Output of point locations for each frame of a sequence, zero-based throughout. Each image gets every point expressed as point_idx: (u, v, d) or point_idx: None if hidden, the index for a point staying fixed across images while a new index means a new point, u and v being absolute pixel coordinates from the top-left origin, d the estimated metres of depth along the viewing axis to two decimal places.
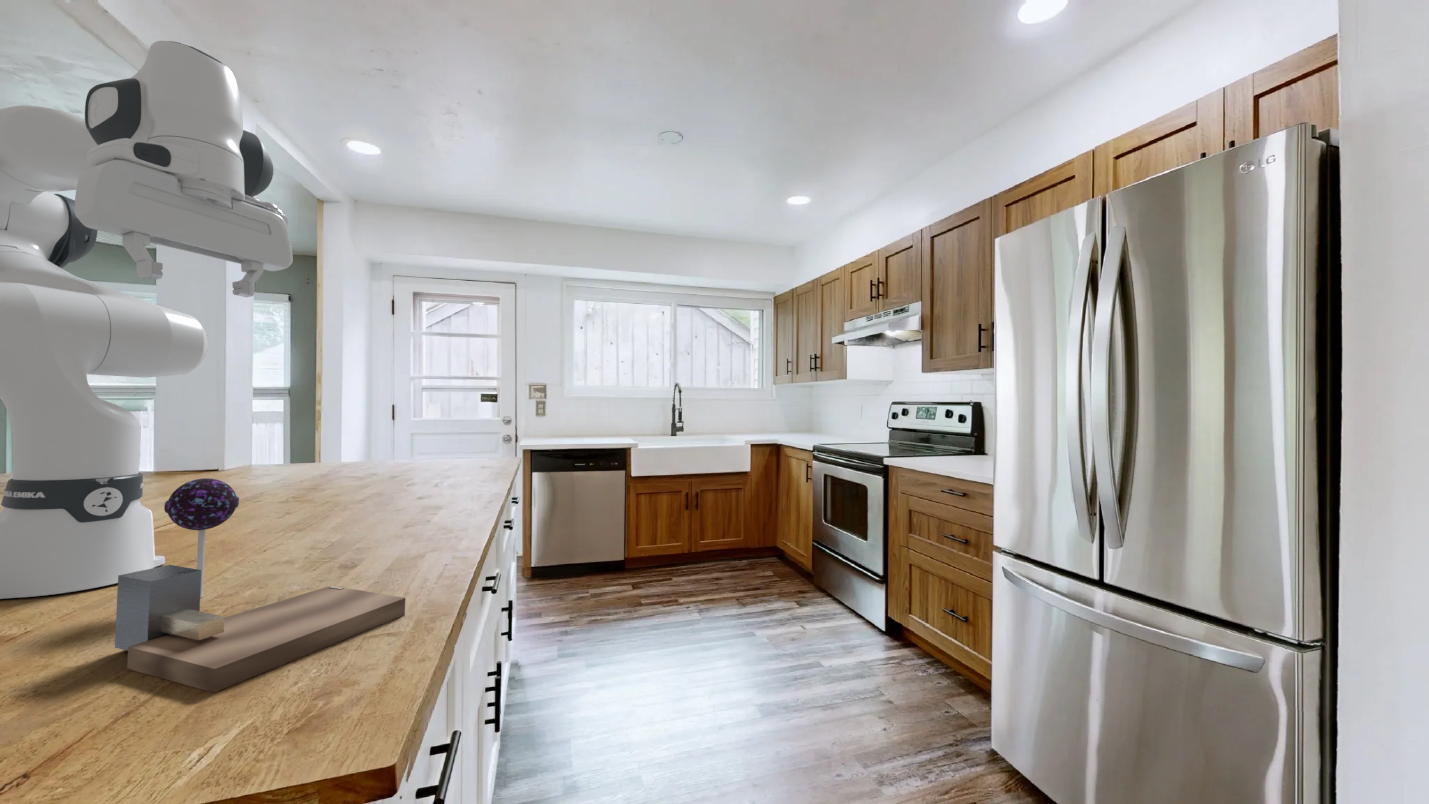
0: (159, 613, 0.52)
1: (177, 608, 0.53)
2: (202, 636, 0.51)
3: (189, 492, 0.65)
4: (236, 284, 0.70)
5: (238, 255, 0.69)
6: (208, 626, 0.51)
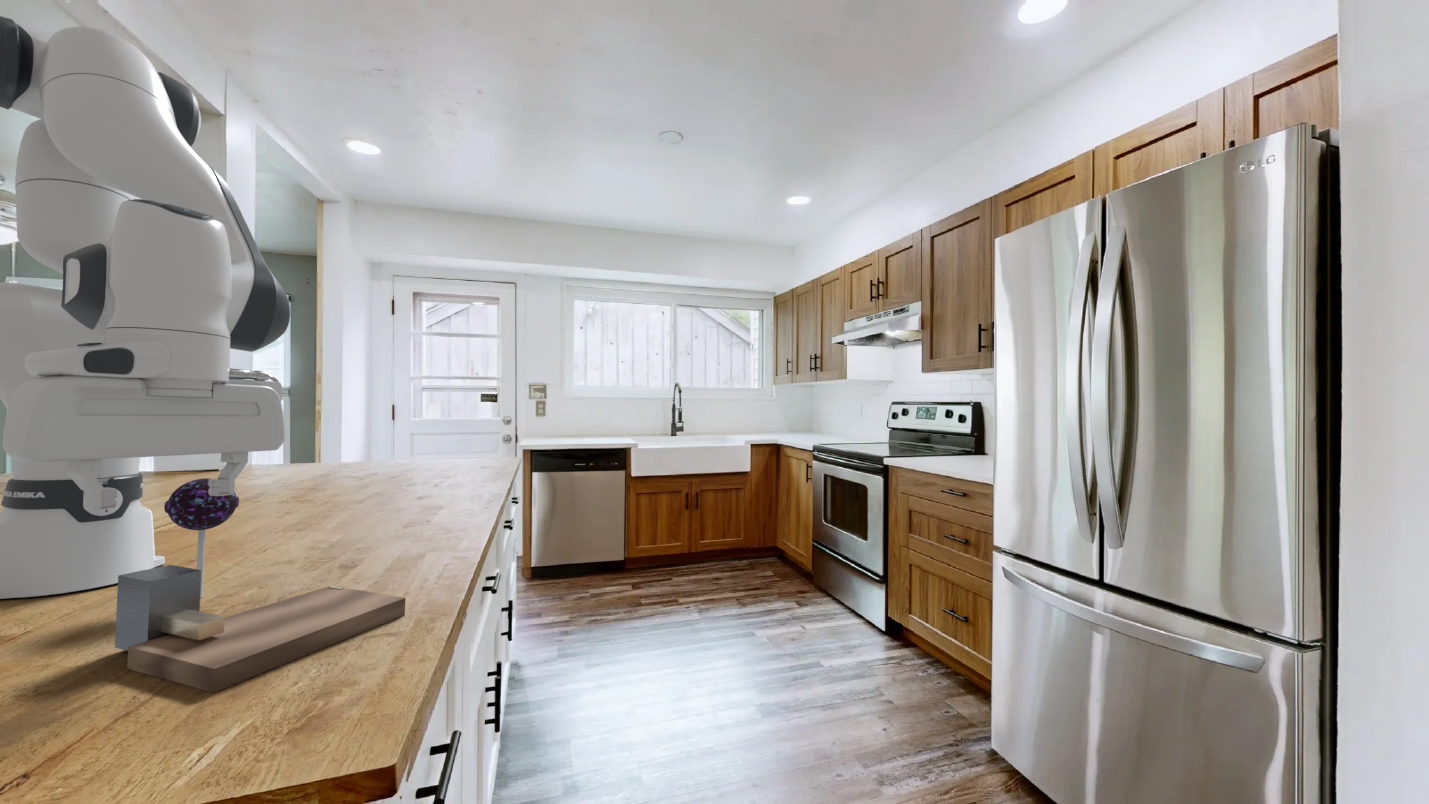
0: (159, 613, 0.52)
1: (177, 608, 0.53)
2: (202, 636, 0.51)
3: (189, 492, 0.65)
4: (213, 483, 0.58)
5: (217, 452, 0.57)
6: (208, 626, 0.51)
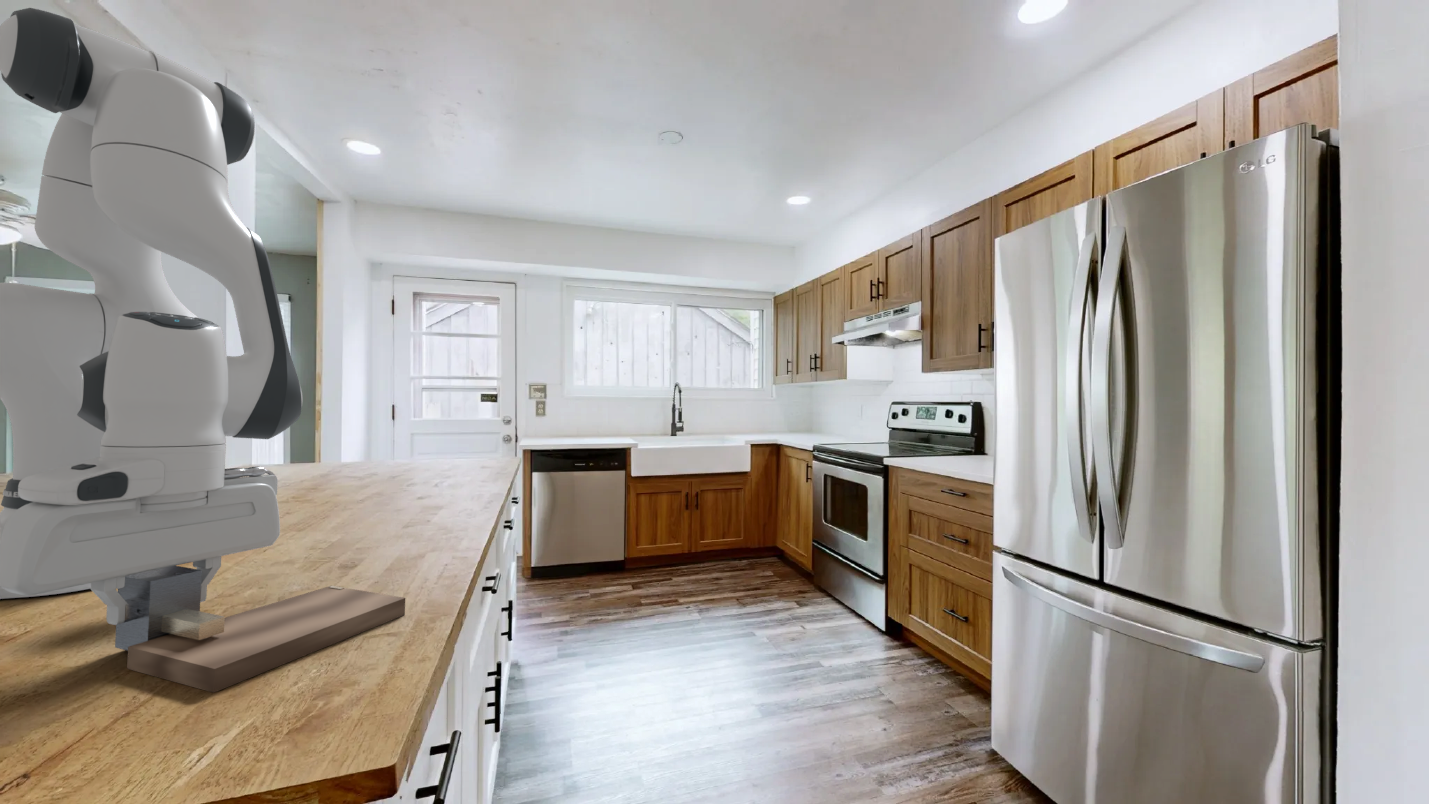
0: (159, 613, 0.52)
1: (177, 608, 0.53)
2: (203, 636, 0.51)
3: None
4: None
5: (211, 557, 0.56)
6: (208, 626, 0.51)
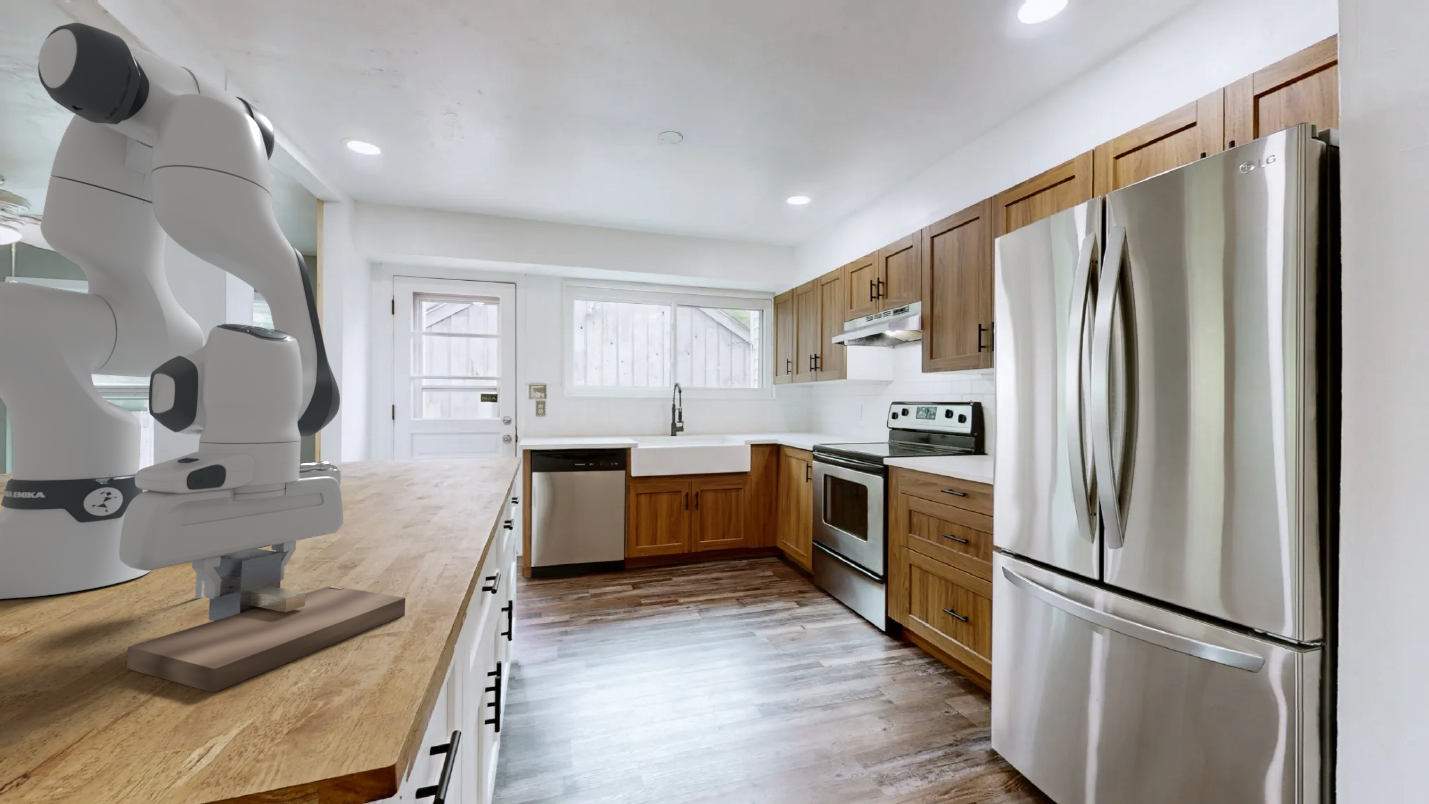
0: (249, 589, 0.59)
1: (263, 585, 0.60)
2: (289, 608, 0.58)
3: None
4: None
5: (288, 541, 0.64)
6: (293, 600, 0.58)
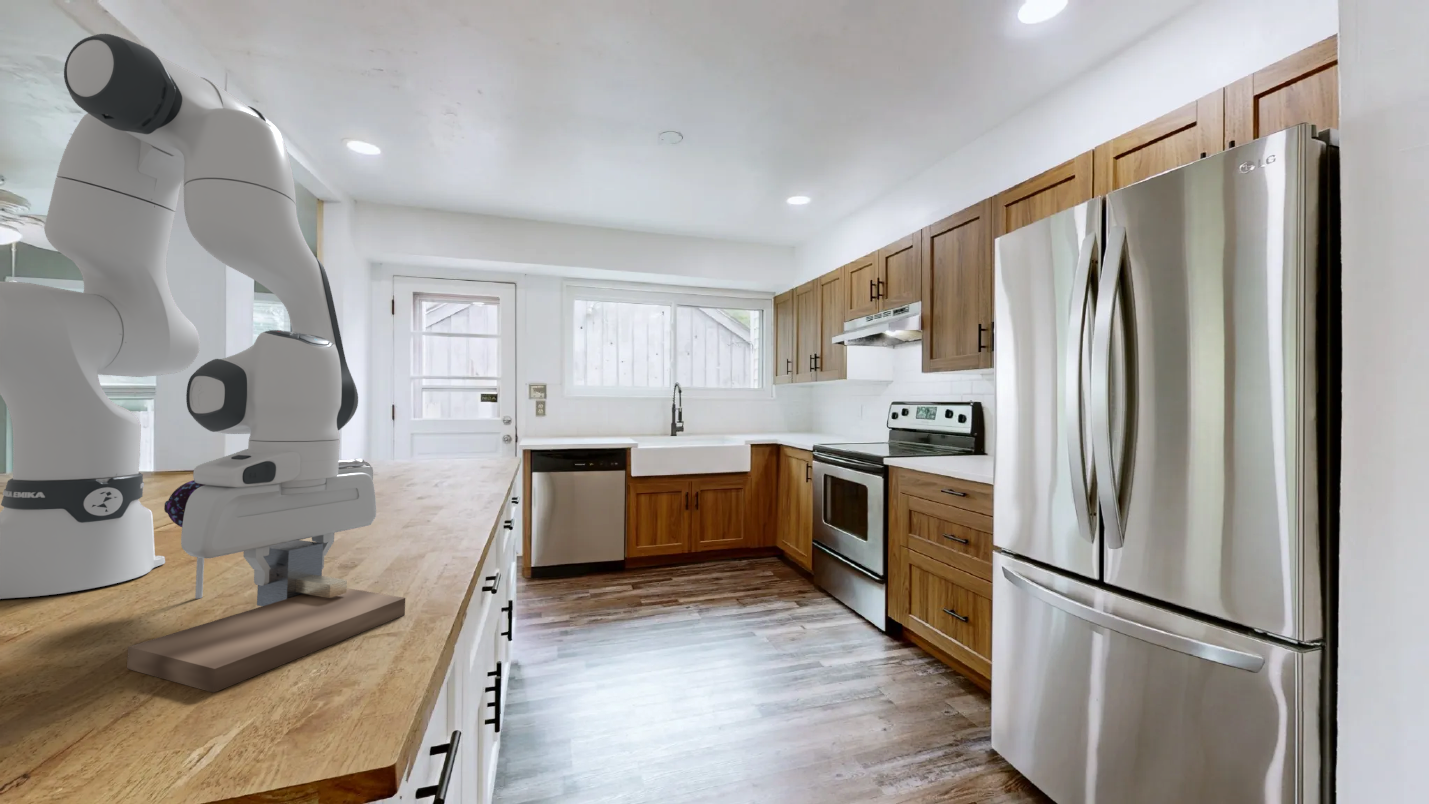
0: (294, 577, 0.64)
1: (306, 573, 0.65)
2: (332, 594, 0.62)
3: (189, 492, 0.65)
4: None
5: (328, 533, 0.68)
6: (336, 587, 0.63)
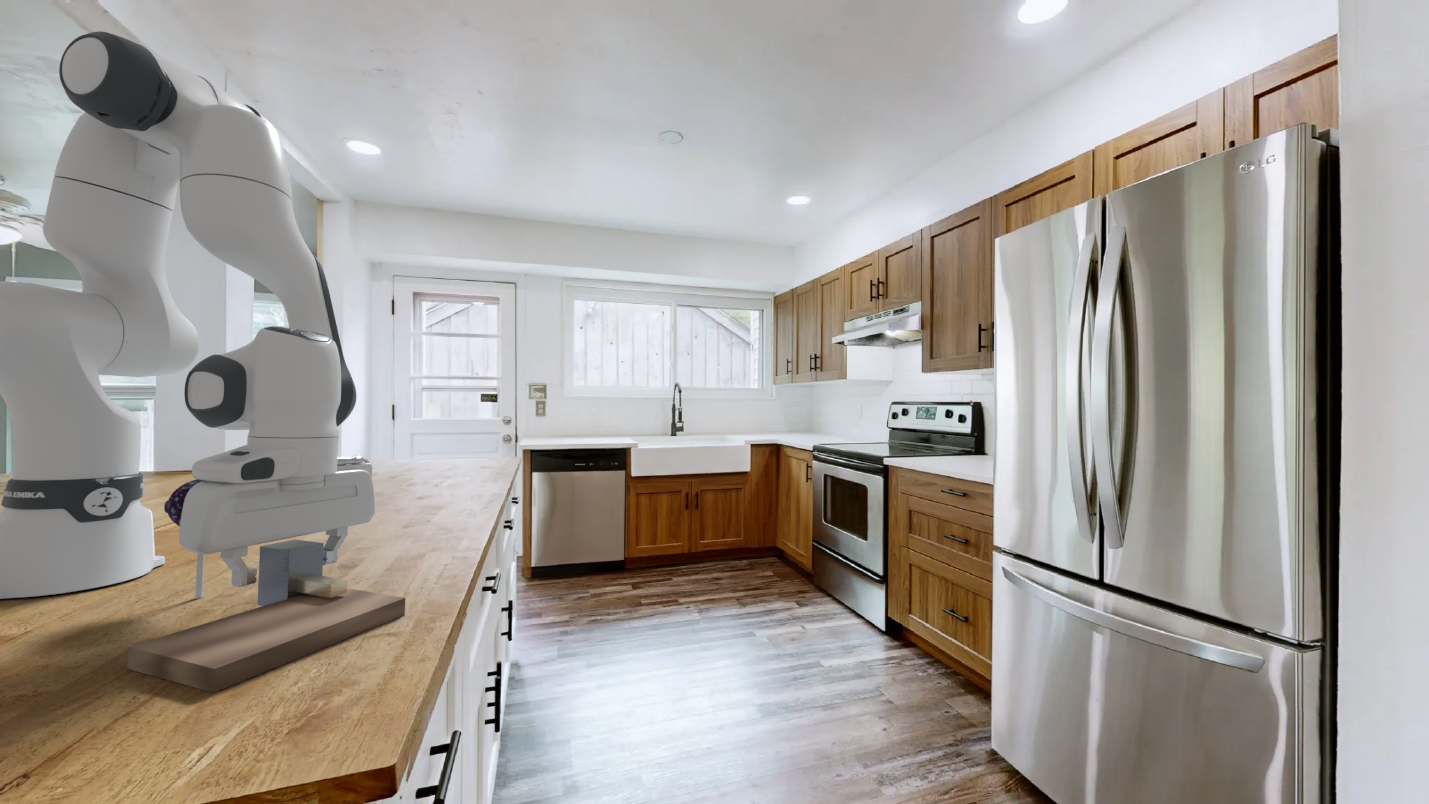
0: (295, 577, 0.64)
1: (307, 573, 0.65)
2: (333, 594, 0.62)
3: None
4: None
5: (326, 530, 0.68)
6: (337, 587, 0.63)
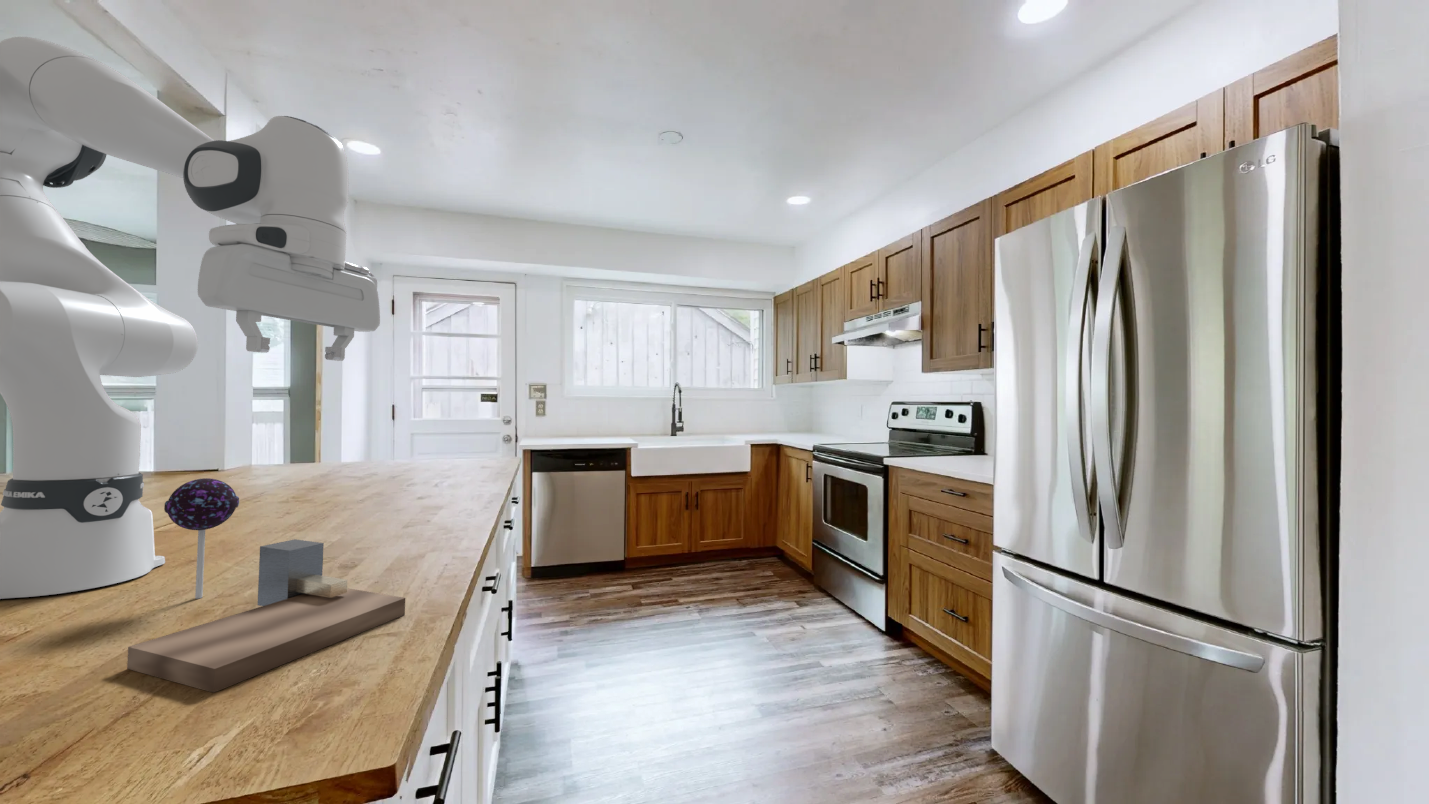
0: (295, 577, 0.64)
1: (307, 573, 0.65)
2: (333, 594, 0.62)
3: (189, 492, 0.65)
4: (329, 349, 0.73)
5: (334, 323, 0.72)
6: (337, 587, 0.63)
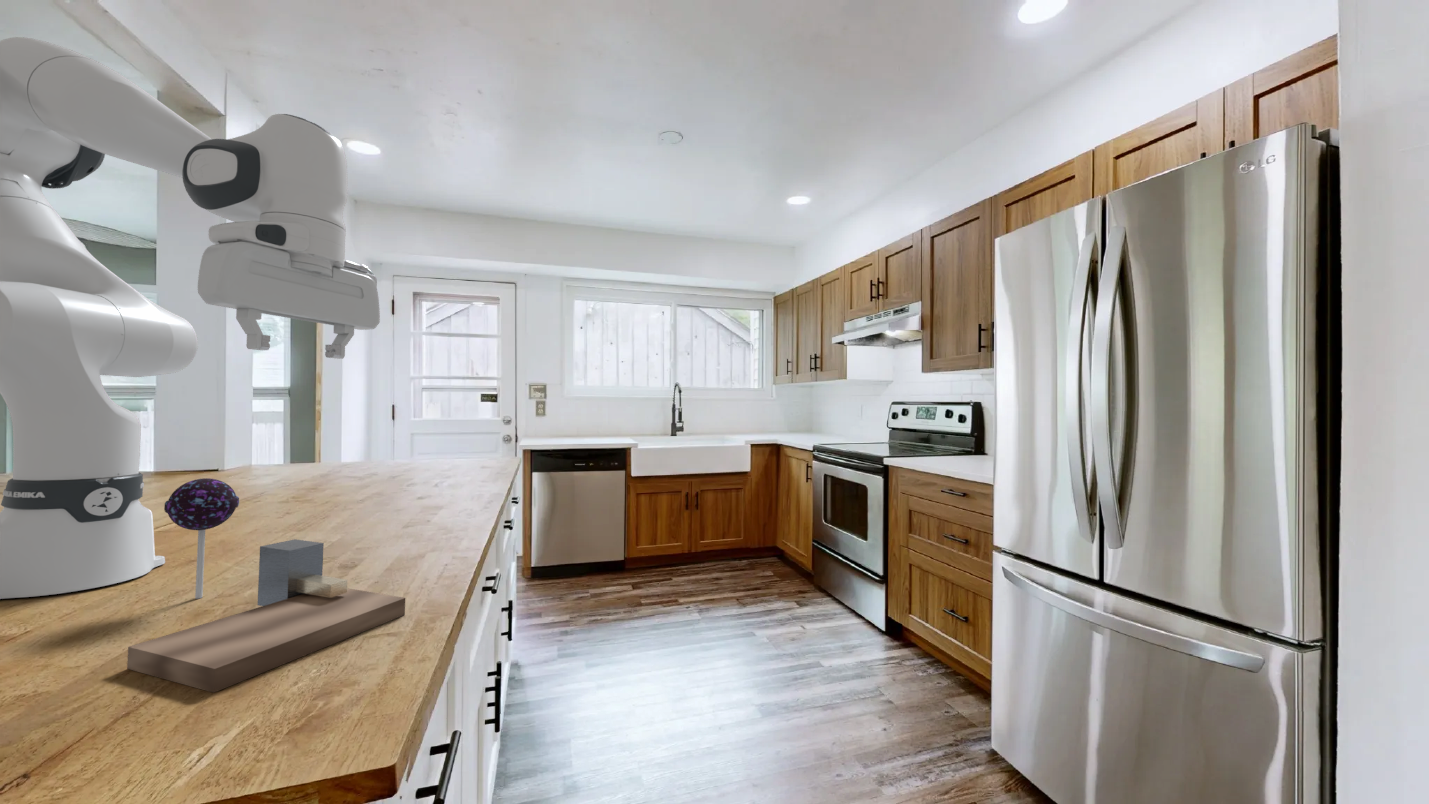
0: (295, 577, 0.64)
1: (307, 573, 0.65)
2: (333, 594, 0.62)
3: (189, 492, 0.65)
4: (329, 347, 0.73)
5: (334, 321, 0.72)
6: (337, 587, 0.63)
